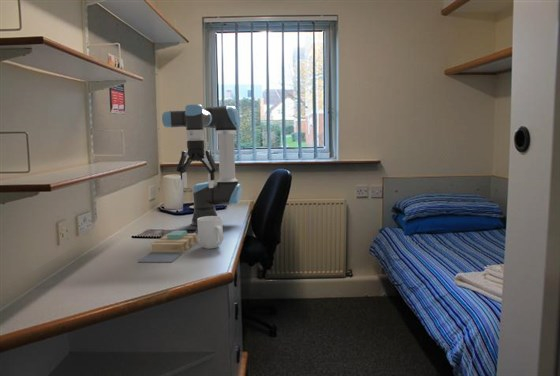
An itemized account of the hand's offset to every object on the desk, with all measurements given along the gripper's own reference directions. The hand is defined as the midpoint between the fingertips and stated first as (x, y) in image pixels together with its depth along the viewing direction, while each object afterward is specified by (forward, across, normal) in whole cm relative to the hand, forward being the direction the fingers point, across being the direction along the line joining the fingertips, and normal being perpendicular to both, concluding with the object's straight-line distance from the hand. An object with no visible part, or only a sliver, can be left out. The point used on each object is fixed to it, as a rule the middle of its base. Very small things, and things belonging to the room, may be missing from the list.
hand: (197, 187), depth 206 cm
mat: (+26, -4, -24) cm, 36 cm away
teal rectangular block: (+22, -10, -4) cm, 25 cm away
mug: (+26, +8, -3) cm, 28 cm away
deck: (+26, -9, -7) cm, 29 cm away
